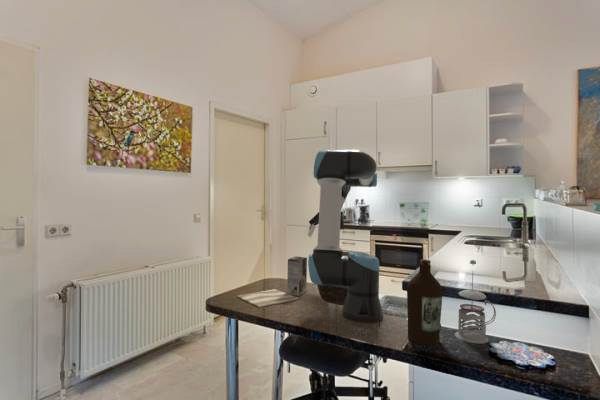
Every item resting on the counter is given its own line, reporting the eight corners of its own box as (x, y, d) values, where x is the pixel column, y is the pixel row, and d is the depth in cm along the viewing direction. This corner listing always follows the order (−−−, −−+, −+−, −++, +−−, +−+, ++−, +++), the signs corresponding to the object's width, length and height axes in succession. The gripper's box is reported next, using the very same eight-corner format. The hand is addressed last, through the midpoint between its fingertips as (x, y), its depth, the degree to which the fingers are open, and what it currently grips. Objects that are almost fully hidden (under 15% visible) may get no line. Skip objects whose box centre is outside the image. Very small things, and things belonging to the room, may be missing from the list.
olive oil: (399, 334, 112) (401, 257, 112) (427, 331, 115) (428, 257, 115) (418, 347, 102) (420, 263, 102) (449, 344, 105) (450, 262, 105)
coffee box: (294, 289, 165) (295, 256, 165) (306, 291, 162) (307, 257, 162) (286, 294, 156) (287, 258, 156) (299, 296, 154) (300, 260, 154)
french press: (453, 329, 117) (455, 256, 118) (491, 334, 114) (493, 259, 114) (456, 340, 108) (457, 261, 108) (497, 346, 104) (499, 264, 104)
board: (298, 299, 149) (298, 298, 149) (259, 307, 136) (259, 306, 136) (275, 290, 163) (275, 289, 163) (237, 297, 150) (237, 295, 150)
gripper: (359, 210, 178) (344, 245, 167) (318, 206, 192) (303, 238, 182) (354, 201, 173) (339, 236, 162) (313, 198, 187) (297, 230, 177)
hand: (320, 237), depth 172 cm, fingers open, 13 cm apart
